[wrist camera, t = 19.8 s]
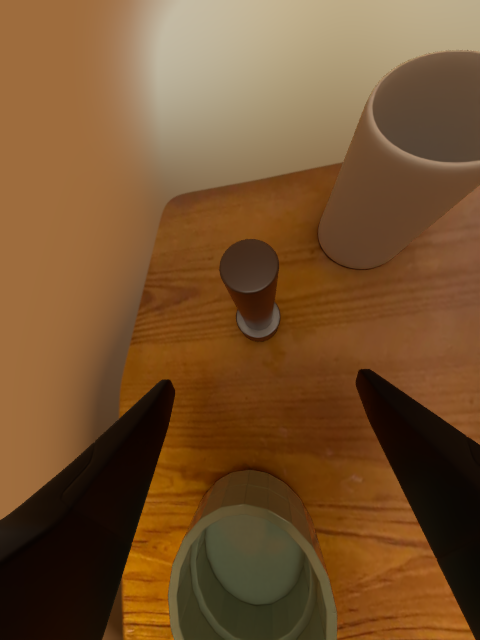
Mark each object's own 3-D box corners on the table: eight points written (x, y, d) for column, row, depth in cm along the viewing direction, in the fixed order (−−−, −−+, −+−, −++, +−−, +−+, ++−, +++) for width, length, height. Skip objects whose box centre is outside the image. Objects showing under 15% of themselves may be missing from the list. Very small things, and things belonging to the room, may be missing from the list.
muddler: (282, 337, 20) (307, 297, 8) (244, 345, 20) (211, 319, 8) (273, 300, 21) (283, 214, 9) (236, 309, 21) (197, 236, 9)
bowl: (332, 605, 15) (363, 721, 10) (205, 618, 16) (178, 730, 11) (297, 457, 17) (308, 494, 13) (188, 475, 18) (160, 516, 13)
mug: (364, 286, 20) (478, 198, 9) (300, 237, 22) (333, 119, 11) (441, 207, 21) (630, 41, 10) (372, 167, 23) (467, -6, 12)
